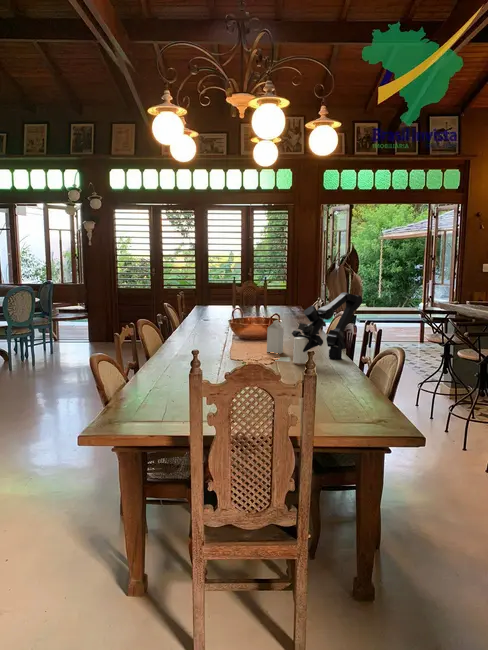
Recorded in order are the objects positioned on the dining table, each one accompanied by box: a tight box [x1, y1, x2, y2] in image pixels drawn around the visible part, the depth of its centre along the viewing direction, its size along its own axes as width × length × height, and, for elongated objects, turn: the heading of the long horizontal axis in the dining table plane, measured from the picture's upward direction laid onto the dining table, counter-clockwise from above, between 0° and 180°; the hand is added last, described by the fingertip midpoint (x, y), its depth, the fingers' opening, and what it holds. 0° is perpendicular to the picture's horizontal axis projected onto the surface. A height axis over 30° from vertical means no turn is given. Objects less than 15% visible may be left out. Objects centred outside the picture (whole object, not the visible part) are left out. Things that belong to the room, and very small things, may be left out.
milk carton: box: [266, 319, 285, 355], centre depth 280 cm, size 7×7×19 cm
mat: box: [274, 356, 291, 362], centre depth 266 cm, size 10×10×1 cm
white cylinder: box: [292, 337, 308, 364], centre depth 255 cm, size 7×7×12 cm
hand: (298, 350), depth 254 cm, fingers closed on white cylinder, 7 cm apart
